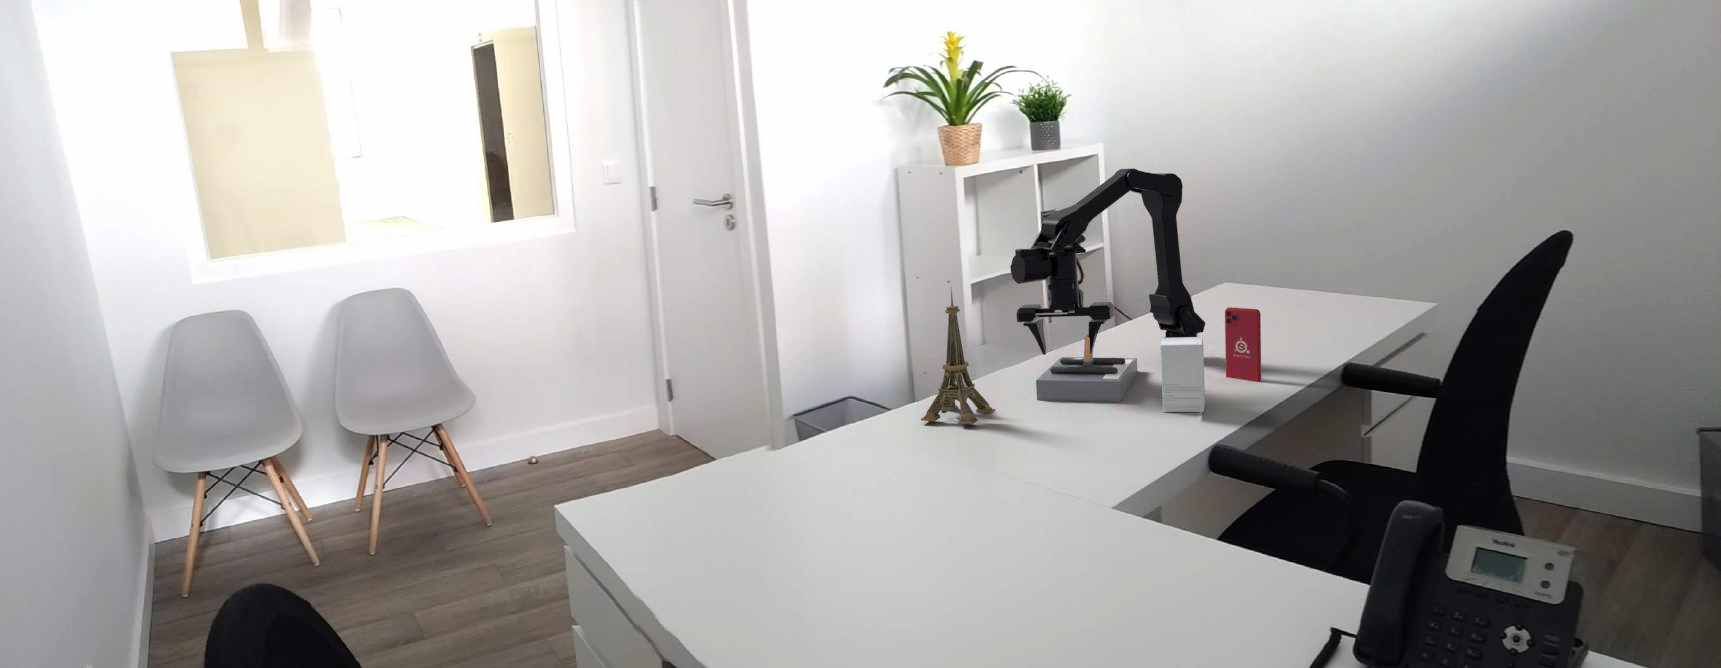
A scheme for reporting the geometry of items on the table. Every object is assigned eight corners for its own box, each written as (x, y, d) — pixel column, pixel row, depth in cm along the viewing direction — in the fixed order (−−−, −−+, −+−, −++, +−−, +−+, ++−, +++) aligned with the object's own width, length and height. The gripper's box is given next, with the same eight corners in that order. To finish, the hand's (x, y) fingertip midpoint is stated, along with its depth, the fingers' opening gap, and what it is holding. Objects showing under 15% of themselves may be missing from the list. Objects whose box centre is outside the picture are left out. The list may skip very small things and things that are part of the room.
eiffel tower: (945, 407, 211) (938, 280, 207) (995, 410, 206) (988, 280, 202) (920, 420, 202) (912, 288, 198) (972, 424, 197) (964, 288, 193)
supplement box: (1205, 403, 200) (1204, 336, 198) (1204, 413, 193) (1203, 343, 191) (1164, 402, 202) (1162, 336, 200) (1161, 412, 195) (1159, 344, 193)
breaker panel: (1137, 377, 225) (1136, 351, 224) (1119, 402, 205) (1118, 374, 204) (1061, 375, 231) (1060, 351, 230) (1036, 400, 211) (1035, 373, 210)
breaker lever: (1094, 365, 219) (1095, 334, 218) (1089, 370, 215) (1091, 338, 214) (1086, 364, 220) (1087, 333, 218) (1081, 369, 216) (1082, 337, 214)
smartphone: (1261, 384, 211) (1260, 309, 208) (1259, 385, 210) (1258, 309, 208) (1227, 380, 216) (1225, 306, 214) (1224, 381, 216) (1223, 307, 213)
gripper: (1116, 270, 220) (1120, 345, 222) (1026, 274, 227) (1031, 347, 229) (1107, 277, 210) (1111, 356, 212) (1013, 281, 217) (1018, 357, 219)
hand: (1067, 354), depth 218 cm, fingers open, 9 cm apart
